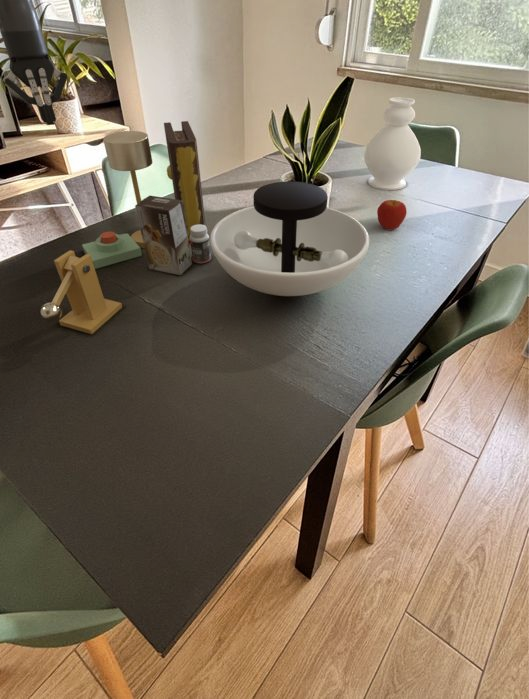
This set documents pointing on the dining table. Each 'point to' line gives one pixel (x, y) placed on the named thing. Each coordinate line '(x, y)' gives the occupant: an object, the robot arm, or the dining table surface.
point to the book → (185, 172)
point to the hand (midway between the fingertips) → (50, 124)
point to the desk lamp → (129, 160)
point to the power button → (108, 237)
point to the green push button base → (112, 250)
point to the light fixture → (289, 241)
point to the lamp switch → (59, 294)
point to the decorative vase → (393, 147)
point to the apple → (391, 214)
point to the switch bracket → (85, 296)
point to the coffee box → (164, 234)
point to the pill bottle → (200, 244)
